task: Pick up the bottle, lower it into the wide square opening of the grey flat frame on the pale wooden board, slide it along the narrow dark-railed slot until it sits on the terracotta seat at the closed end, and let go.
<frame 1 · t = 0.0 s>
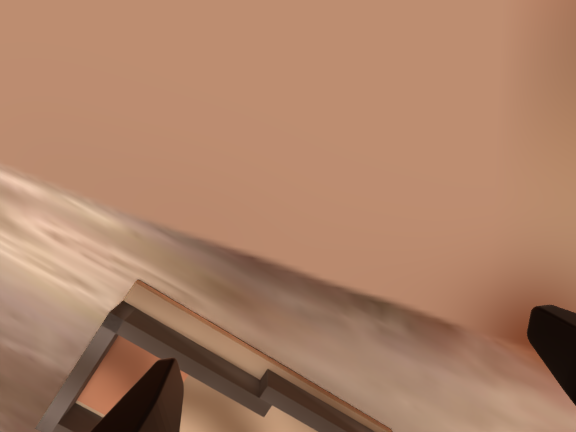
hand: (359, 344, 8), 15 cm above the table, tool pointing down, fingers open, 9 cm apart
grey flat frame: (226, 424, 25), on the table
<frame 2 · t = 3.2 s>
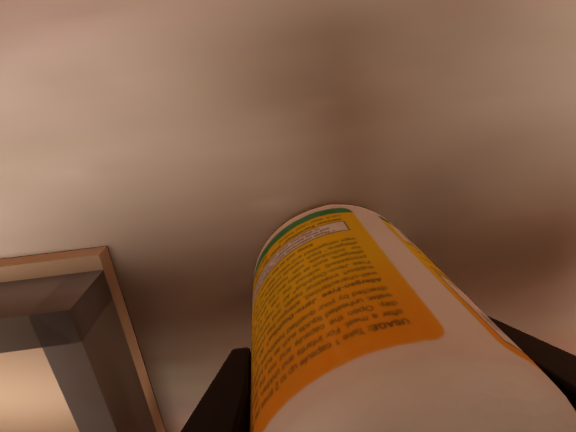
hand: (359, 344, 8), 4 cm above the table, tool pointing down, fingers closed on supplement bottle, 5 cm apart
supplement bottle: (328, 270, 12), on the table, touching gripper
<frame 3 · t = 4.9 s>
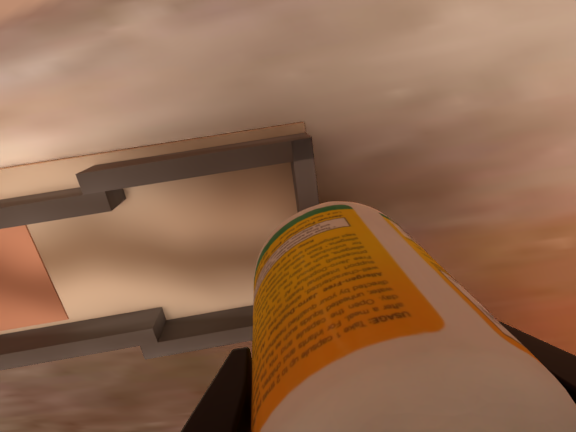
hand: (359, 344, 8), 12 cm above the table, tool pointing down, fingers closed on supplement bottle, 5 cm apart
grey flat frame: (131, 254, 20), on the table
supplement bottle: (328, 267, 12), point 8 cm above the table, touching gripper
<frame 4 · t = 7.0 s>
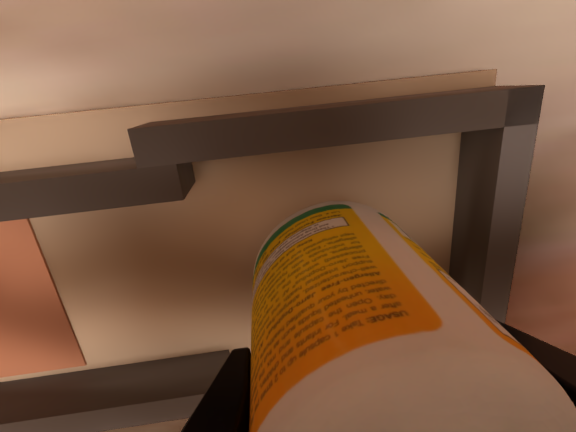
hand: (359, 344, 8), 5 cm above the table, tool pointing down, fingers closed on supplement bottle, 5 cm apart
grey flat frame: (189, 269, 13), on the table
supplement bottle: (327, 266, 12), point 1 cm above the table, touching gripper
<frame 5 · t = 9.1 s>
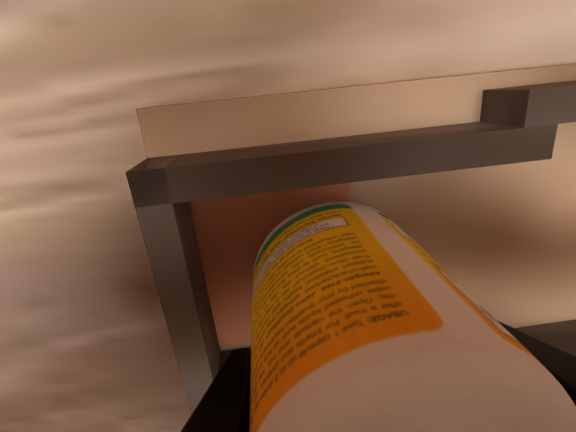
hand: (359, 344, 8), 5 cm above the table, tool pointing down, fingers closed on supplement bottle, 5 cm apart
grey flat frame: (458, 236, 13), on the table
supplement bottle: (328, 266, 12), point 1 cm above the table, touching gripper
when the fingers open (5 cm above the table, at t = 10.8 s): supplement bottle stays where it is, resting on grey flat frame.
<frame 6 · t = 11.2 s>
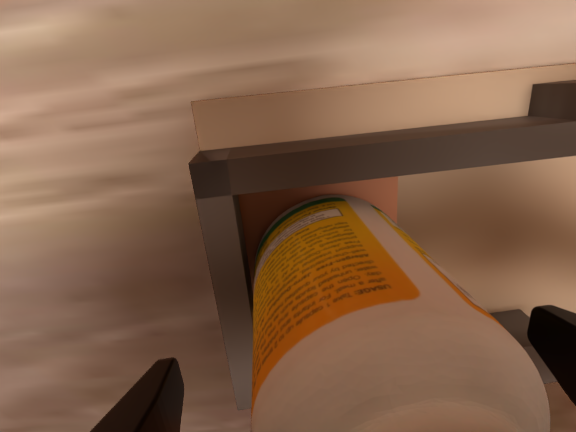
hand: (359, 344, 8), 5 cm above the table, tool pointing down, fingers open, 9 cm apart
grey flat frame: (498, 230, 14), on the table
supplement bottle: (324, 257, 13), point 1 cm above the table, touching grey flat frame
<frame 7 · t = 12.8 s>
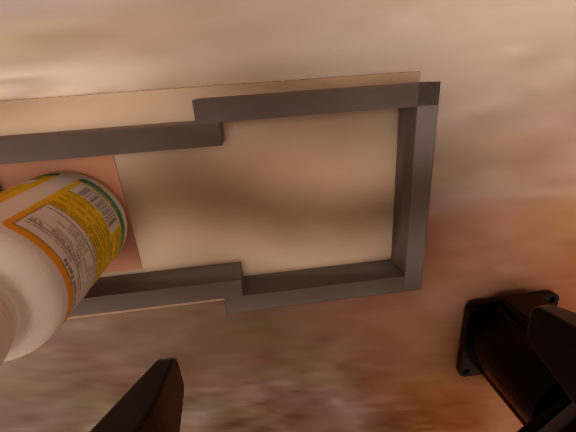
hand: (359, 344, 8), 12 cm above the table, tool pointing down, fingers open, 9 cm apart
grey flat frame: (216, 202, 19), on the table
supplement bottle: (76, 218, 18), point 1 cm above the table, touching grey flat frame
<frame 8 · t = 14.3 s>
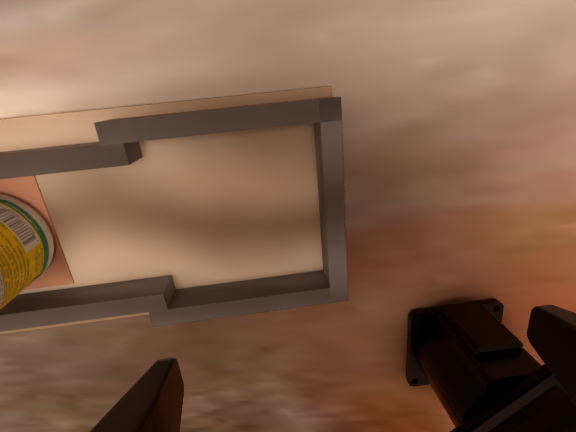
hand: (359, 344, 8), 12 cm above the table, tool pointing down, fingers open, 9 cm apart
grey flat frame: (143, 218, 19), on the table
supplement bottle: (5, 236, 18), point 1 cm above the table, touching grey flat frame
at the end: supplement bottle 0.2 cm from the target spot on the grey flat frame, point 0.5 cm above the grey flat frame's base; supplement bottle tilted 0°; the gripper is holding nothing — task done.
